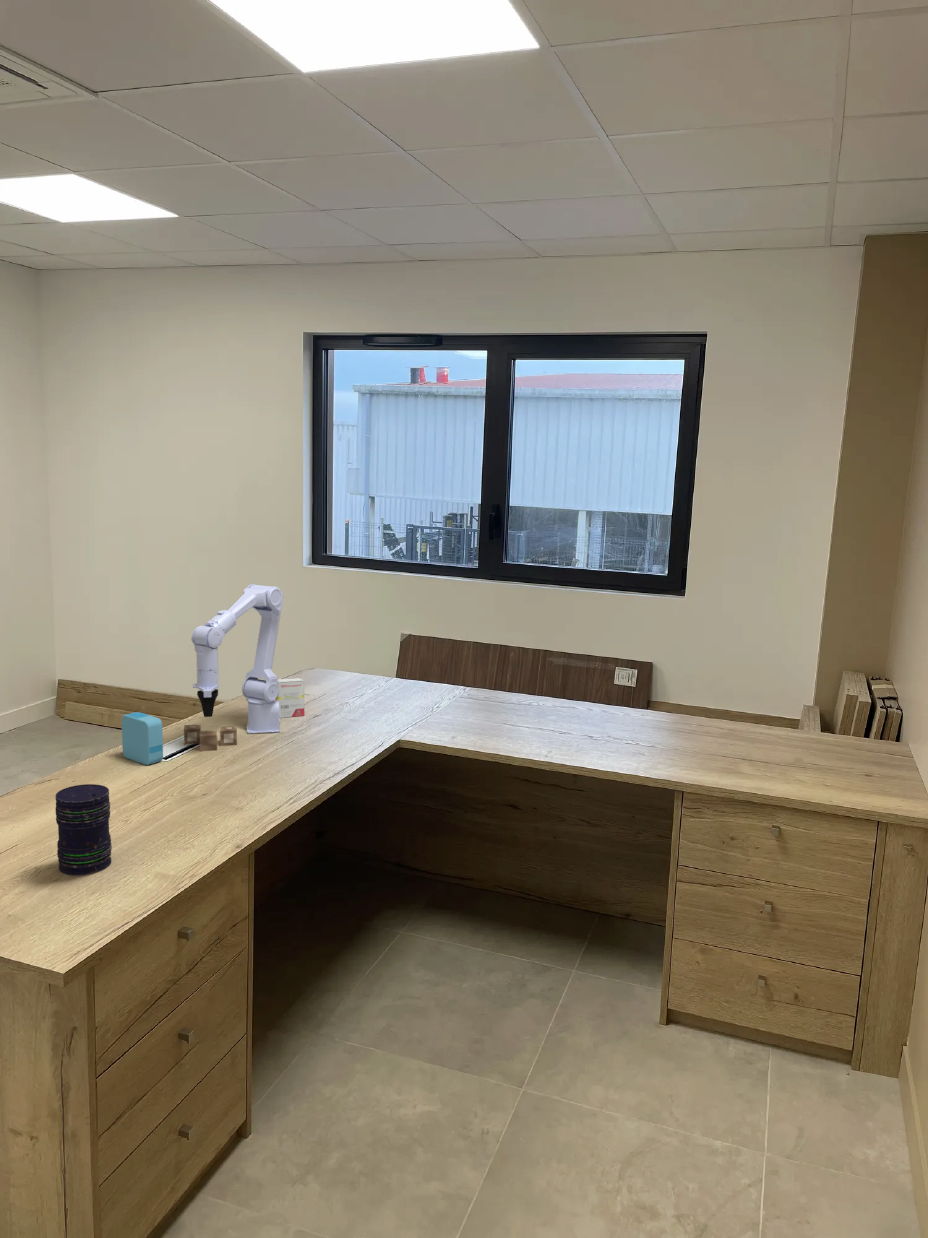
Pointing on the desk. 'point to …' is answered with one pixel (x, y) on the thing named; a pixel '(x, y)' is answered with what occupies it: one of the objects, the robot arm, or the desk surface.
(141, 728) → the data package
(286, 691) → the ink box
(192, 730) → the marked block 1
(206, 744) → the plain block
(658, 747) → the desk surface
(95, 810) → the dark blue barrel
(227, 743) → the marked block 2
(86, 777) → the desk surface
